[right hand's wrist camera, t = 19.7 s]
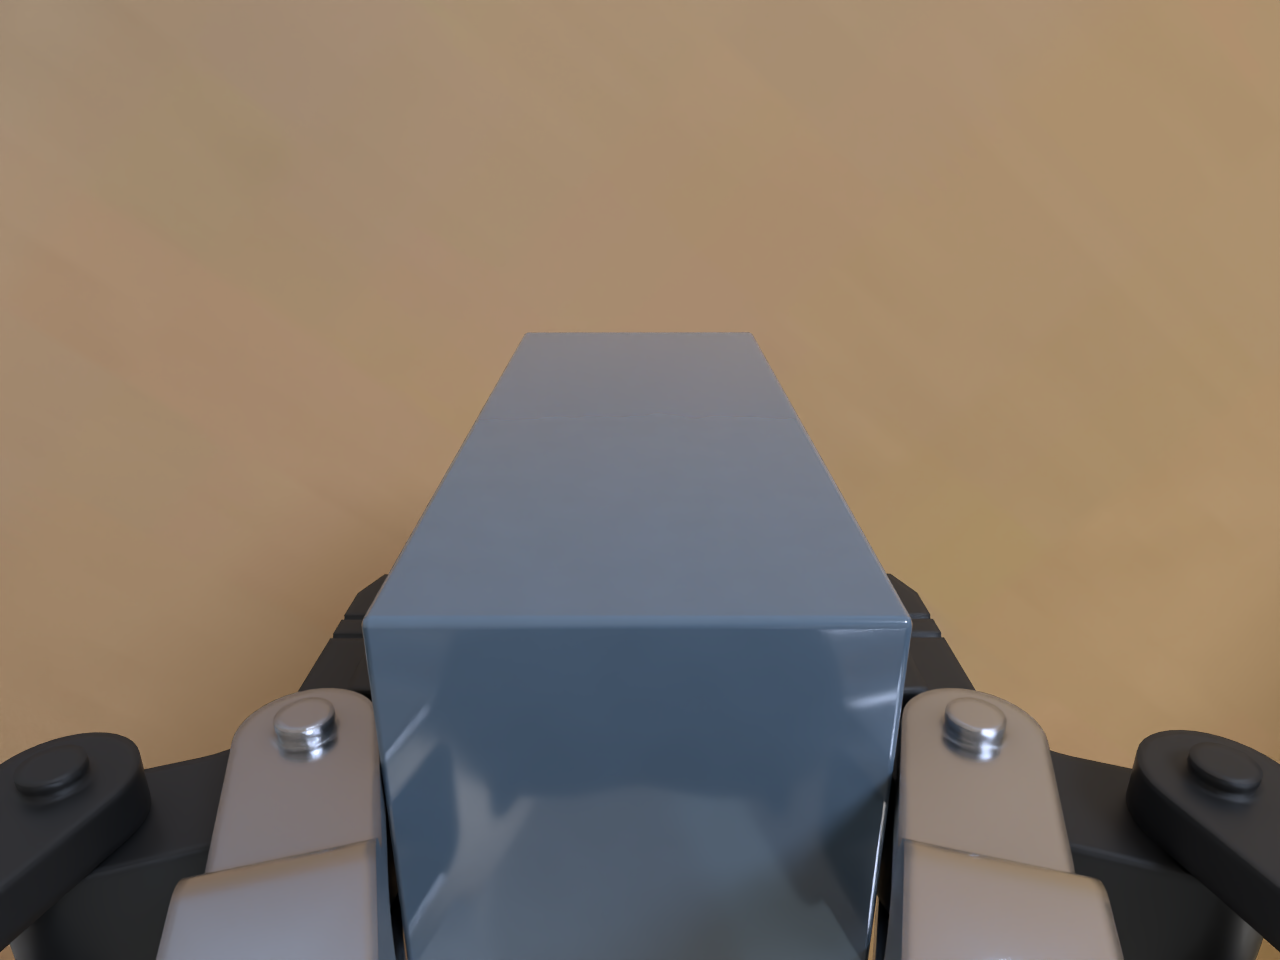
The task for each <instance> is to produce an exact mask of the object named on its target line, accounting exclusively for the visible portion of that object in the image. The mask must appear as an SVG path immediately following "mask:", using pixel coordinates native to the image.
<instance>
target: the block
mask: <svg viewBox="0 0 1280 960" xmlns="http://www.w3.org/2000/svg"><path fill="white" fill-rule="evenodd" d="M361 625H362V632H363V639H364V646H365V654H366V661H367V668H368V676H369V683H370V690H371V697H372V705H373V712H374V719H375V727H376V734H377V741H378V749H379V756H380V763H381V770H382V778H383V785H384V792H385V800H386V807H387V814H388V822H389V829H390V836H391V843H392V851H393V858H394V865H395V873H396V880H397V887H398V895H399V902H400V909H401V916H402V924H403V931H404V938H405V946H406V953H407V960H868V957H869V949H870V942H871V934H872V927H873V919H874V912H875V904H876V896H877V889H878V881H879V874H880V866H881V859H882V851H883V844H884V836H885V829H886V821H887V814H888V806H889V799H890V791H891V784H892V776H893V769H894V761H895V753H896V746H897V738H898V731H899V723H900V716H901V708H902V701H903V693H904V686H905V678H906V671H907V663H908V656H909V648H910V641H911V633H912V626H913V623H912V620H911V617H910V616H909V614H908V612H907V610H906V608H905V607H904V605H903V603H902V601H901V599H900V598H899V596H898V594H897V592H896V590H895V589H894V587H893V585H892V583H891V582H890V580H889V578H888V576H887V574H886V573H885V571H884V569H883V567H882V565H881V564H880V562H879V560H878V558H877V557H876V555H875V553H874V551H873V549H872V548H871V546H870V544H869V542H868V540H867V539H866V537H865V535H864V533H863V531H862V530H861V528H860V526H859V524H858V523H857V521H856V519H855V517H854V515H853V514H852V512H851V510H850V508H849V506H848V505H847V503H846V501H845V499H844V498H843V496H842V494H841V492H840V490H839V489H838V487H837V485H836V483H835V481H834V480H833V478H832V476H831V474H830V472H829V471H828V469H827V467H826V465H825V464H824V462H823V460H822V458H821V456H820V455H819V453H818V451H817V449H816V447H815V446H814V444H813V442H812V440H811V439H810V437H809V435H808V433H807V431H806V430H805V428H804V426H803V424H802V422H801V421H800V419H799V417H798V415H797V414H796V412H795V410H794V408H793V406H792V405H791V403H790V401H789V399H788V397H787V396H786V394H785V392H784V390H783V388H782V387H781V385H780V383H779V381H778V380H777V378H776V376H775V374H774V372H773V371H772V369H771V367H770V365H769V363H768V362H767V360H766V358H765V356H764V355H763V353H762V351H761V349H760V347H759V346H758V344H757V342H756V340H755V338H754V337H753V335H752V334H751V333H526V334H525V335H524V337H523V338H522V340H521V342H520V344H519V345H518V347H517V349H516V351H515V352H514V354H513V356H512V358H511V359H510V361H509V363H508V365H507V367H506V368H505V370H504V372H503V374H502V375H501V377H500V379H499V381H498V382H497V384H496V386H495V388H494V389H493V391H492V393H491V395H490V396H489V398H488V400H487V402H486V403H485V405H484V407H483V409H482V410H481V412H480V414H479V416H478V418H477V419H476V421H475V423H474V425H473V426H472V428H471V430H470V432H469V433H468V435H467V437H466V439H465V440H464V442H463V444H462V446H461V447H460V449H459V451H458V453H457V454H456V456H455V458H454V460H453V461H452V463H451V465H450V467H449V469H448V470H447V472H446V474H445V476H444V477H443V479H442V481H441V483H440V484H439V486H438V488H437V490H436V491H435V493H434V495H433V497H432V498H431V500H430V502H429V504H428V505H427V507H426V509H425V511H424V512H423V514H422V516H421V518H420V520H419V521H418V523H417V525H416V527H415V528H414V530H413V532H412V534H411V535H410V537H409V539H408V541H407V542H406V544H405V546H404V548H403V549H402V551H401V553H400V555H399V556H398V558H397V560H396V562H395V564H394V565H393V567H392V569H391V571H390V572H389V574H388V576H387V578H386V579H385V581H384V583H383V585H382V586H381V588H380V590H379V592H378V593H377V595H376V597H375V599H374V600H373V602H372V604H371V606H370V607H369V609H368V611H367V613H366V615H365V616H364V618H363V621H362V624H361Z"/></svg>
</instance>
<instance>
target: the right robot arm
mask: <svg viewBox="0 0 1280 960" xmlns="http://www.w3.org/2000/svg"><path fill="white" fill-rule="evenodd" d="M387 576H388V574H385V575H383V576H382V577H380V578H379V579H378V580H376V581H375V582H373V583H372V584H370V585H369V586H368V587H366V588H365V589H363V590H362V591H361V592H359V593H358V594H357V596H356V597H355V599H354V601H353V602H352V604H351V605H350V607H349V609H348V610H347V612H346V614H345V615H344V616H345V618H344V620H341V622H340V624H339V625H338V627H337V628H336V630H335V632H334V633H333V638H330V640H329V642H328V643H327V645H326V646H325V648H324V650H323V651H322V653H321V655H320V656H319V658H318V660H317V661H316V663H315V665H314V666H313V668H312V669H311V671H310V673H309V674H308V676H307V678H306V679H305V681H304V683H303V684H302V686H301V687H300V689H299V691H298V692H296V693H293V694H290V695H286V696H284V697H281V698H279V699H276V700H274V701H272V702H270V703H268V704H266V705H264V706H263V707H261V708H260V709H258V710H257V711H255V712H254V713H253V714H251V715H250V716H249V717H248V718H247V719H246V720H245V721H244V722H243V723H242V724H241V725H240V726H239V728H238V729H237V731H236V733H235V734H234V737H233V740H232V744H231V749H229V750H226V751H223V752H220V753H217V754H214V755H210V756H206V757H202V758H197V759H192V760H187V761H183V762H178V763H173V764H168V765H163V766H158V767H154V768H149V769H144V768H143V764H142V760H141V756H140V753H139V750H138V747H137V746H136V745H135V744H134V742H133V741H131V740H129V739H128V738H126V737H124V736H121V735H118V734H112V733H98V732H94V733H82V734H76V735H70V736H66V737H62V738H58V739H54V740H51V741H48V742H45V743H42V744H39V745H37V746H35V747H32V748H30V749H28V750H25V751H23V752H21V753H19V754H17V755H15V756H13V757H12V758H10V759H8V760H7V761H5V762H3V763H2V764H0V952H1V951H2V950H3V949H4V948H5V947H6V946H8V945H9V944H10V946H11V949H12V952H13V954H14V957H15V960H407V953H406V946H405V938H404V931H403V924H402V916H401V909H400V902H399V895H398V887H397V880H396V873H395V865H394V858H393V851H392V843H391V836H390V829H389V822H388V814H387V807H386V800H385V792H384V785H383V778H382V770H381V763H380V756H379V749H378V741H377V734H376V727H375V719H374V712H373V705H372V697H371V690H370V683H369V676H368V668H367V661H366V654H365V646H364V639H363V632H362V625H361V624H362V621H363V618H364V616H365V615H366V613H367V611H368V609H369V607H370V606H371V604H372V602H373V600H374V599H375V597H376V595H377V593H378V592H379V590H380V588H381V586H382V585H383V583H384V581H385V579H386V578H387ZM887 576H888V578H889V580H890V582H891V583H892V585H893V587H894V589H895V590H896V592H897V594H898V596H899V598H900V599H901V601H902V603H903V605H904V607H905V608H906V610H907V612H908V614H909V616H910V617H911V620H912V623H913V626H912V633H911V641H910V648H909V656H908V663H907V671H906V678H905V686H904V693H903V701H902V708H901V716H900V723H899V731H898V738H897V746H896V753H895V761H894V769H893V776H892V784H891V791H890V799H889V806H888V814H887V821H886V829H885V836H884V844H883V851H882V859H881V866H880V874H879V881H878V889H877V896H878V899H877V906H876V914H875V927H874V944H873V960H1256V957H1257V954H1258V952H1259V949H1260V946H1261V943H1262V940H1263V938H1264V939H1266V940H1267V941H1268V942H1269V943H1270V944H1271V945H1272V946H1273V947H1275V948H1276V949H1277V950H1278V951H1279V952H1280V764H1278V763H1277V762H1275V761H1274V760H1272V759H1270V758H1269V757H1267V756H1266V755H1264V754H1262V753H1260V752H1258V751H1256V750H1254V749H1252V748H1250V747H1248V746H1245V745H1243V744H1240V743H1238V742H1235V741H1232V740H1230V739H1227V738H1224V737H1220V736H1216V735H1212V734H1208V733H1203V732H1197V731H1187V730H1169V731H1163V732H1158V733H1155V734H1152V735H1150V736H1148V737H1147V738H1145V739H1144V740H1143V741H1142V742H1141V743H1140V744H1139V747H1138V750H1137V753H1136V757H1135V761H1134V765H1133V768H1132V769H1130V768H1125V767H1120V766H1116V765H1111V764H1106V763H1101V762H1096V761H1092V760H1087V759H1082V758H1077V757H1072V756H1068V755H1064V754H1060V753H1057V752H1054V751H1051V750H1050V749H1049V744H1048V740H1047V737H1046V735H1045V733H1044V731H1043V729H1042V728H1041V726H1040V725H1039V724H1038V723H1037V722H1036V721H1035V720H1034V719H1033V718H1032V717H1031V716H1030V715H1029V714H1027V713H1026V712H1025V711H1023V710H1022V709H1020V708H1019V707H1017V706H1016V705H1014V704H1012V703H1010V702H1008V701H1006V700H1004V699H1001V698H999V697H996V696H994V695H990V694H987V693H984V692H979V691H976V690H975V689H974V687H973V685H972V684H971V682H970V680H969V679H968V677H967V675H966V674H965V672H964V670H963V669H962V667H961V665H960V664H959V662H958V660H957V659H956V657H955V655H954V654H953V652H952V650H951V649H950V647H949V645H948V644H947V642H946V640H945V639H944V638H941V632H940V630H939V629H938V627H937V625H936V624H935V622H934V620H933V619H930V614H929V612H928V610H927V609H926V607H925V605H924V604H923V602H922V600H921V599H920V597H919V595H918V594H917V592H915V591H914V590H913V589H911V588H910V587H908V586H907V585H905V584H904V583H903V582H901V581H900V580H898V579H897V578H896V577H894V576H893V575H891V574H887Z"/></svg>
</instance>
